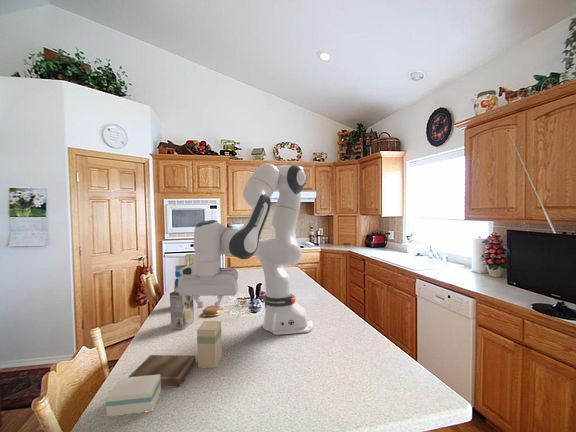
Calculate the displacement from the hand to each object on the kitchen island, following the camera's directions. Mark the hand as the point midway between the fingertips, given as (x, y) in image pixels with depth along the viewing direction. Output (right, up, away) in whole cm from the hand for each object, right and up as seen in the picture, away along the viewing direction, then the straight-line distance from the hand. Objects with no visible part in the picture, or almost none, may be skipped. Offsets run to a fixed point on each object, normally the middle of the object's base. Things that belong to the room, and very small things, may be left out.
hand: (208, 307), depth 97 cm
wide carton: (-15, -20, -19) cm, 32 cm away
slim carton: (0, -19, +1) cm, 19 cm away
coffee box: (-21, -19, +32) cm, 42 cm away
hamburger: (-11, -18, +46) cm, 51 cm away
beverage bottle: (-30, -18, +55) cm, 65 cm away
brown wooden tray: (-13, -20, -6) cm, 24 cm away
